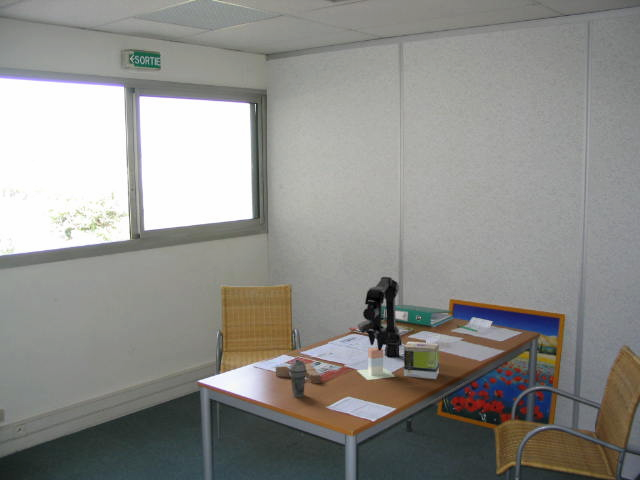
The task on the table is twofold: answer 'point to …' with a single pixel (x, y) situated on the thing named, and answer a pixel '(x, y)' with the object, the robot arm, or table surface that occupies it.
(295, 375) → the beverage cup
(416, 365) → the tea box
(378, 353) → the brick rust
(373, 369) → the brick cream
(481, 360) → the table surface
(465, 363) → the table surface
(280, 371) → the wooden block set
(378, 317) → the robot arm
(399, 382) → the table surface
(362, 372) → the baseplate
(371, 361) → the brick blue
